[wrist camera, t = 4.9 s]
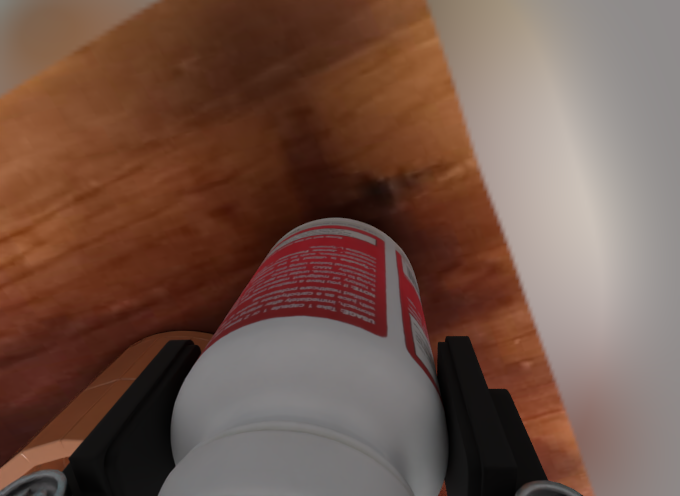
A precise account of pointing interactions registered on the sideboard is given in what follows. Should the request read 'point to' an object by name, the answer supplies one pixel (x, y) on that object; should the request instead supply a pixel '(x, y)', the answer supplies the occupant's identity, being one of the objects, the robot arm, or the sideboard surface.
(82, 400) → the pot
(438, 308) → the sideboard surface
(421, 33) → the sideboard surface
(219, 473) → the pill bottle
